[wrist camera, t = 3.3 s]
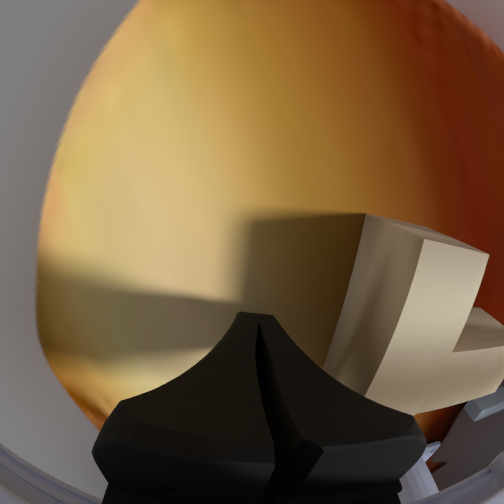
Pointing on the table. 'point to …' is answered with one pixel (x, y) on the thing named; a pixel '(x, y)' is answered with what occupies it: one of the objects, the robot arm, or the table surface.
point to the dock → (485, 405)
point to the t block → (415, 321)
